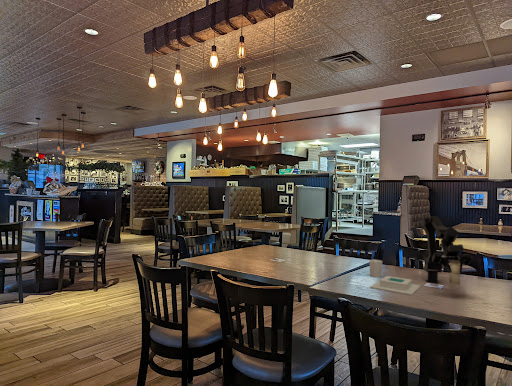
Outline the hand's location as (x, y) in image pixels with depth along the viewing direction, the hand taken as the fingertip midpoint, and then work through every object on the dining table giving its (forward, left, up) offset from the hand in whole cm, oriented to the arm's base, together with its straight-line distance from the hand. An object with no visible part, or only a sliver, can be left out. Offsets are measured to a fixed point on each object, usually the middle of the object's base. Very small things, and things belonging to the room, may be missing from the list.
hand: (455, 272), depth 183 cm
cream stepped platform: (-1, -30, -13) cm, 33 cm away
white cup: (-21, -48, -14) cm, 54 cm away
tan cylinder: (-1, -1, -7) cm, 7 cm away
